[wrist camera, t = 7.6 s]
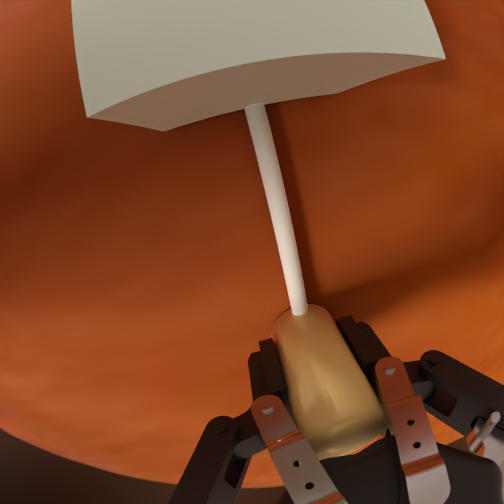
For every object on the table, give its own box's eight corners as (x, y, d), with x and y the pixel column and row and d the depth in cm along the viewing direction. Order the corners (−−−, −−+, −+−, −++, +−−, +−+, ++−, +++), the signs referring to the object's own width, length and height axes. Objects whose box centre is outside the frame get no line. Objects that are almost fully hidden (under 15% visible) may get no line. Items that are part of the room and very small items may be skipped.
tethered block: (366, 332, 15) (423, 420, 9) (243, 368, 15) (256, 477, 9) (291, -35, 8) (338, -122, 1) (133, -5, 8) (76, -87, 1)
